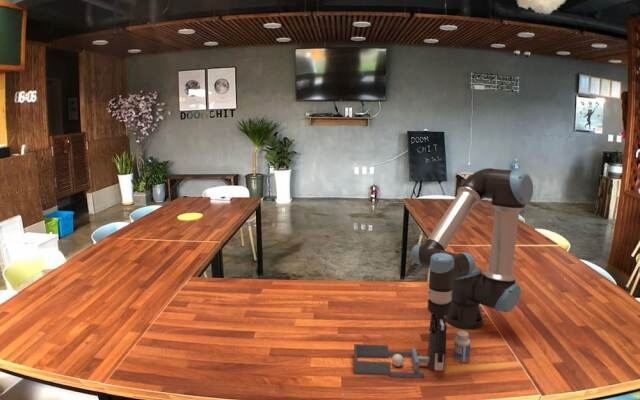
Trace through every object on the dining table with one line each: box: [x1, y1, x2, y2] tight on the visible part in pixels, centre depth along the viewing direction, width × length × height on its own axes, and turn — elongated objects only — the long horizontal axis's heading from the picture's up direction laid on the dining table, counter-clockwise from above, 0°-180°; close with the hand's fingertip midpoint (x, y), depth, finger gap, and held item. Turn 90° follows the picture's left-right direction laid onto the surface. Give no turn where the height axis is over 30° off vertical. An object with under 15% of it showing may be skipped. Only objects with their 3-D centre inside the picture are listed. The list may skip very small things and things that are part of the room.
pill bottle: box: [453, 330, 471, 363], centre depth 156 cm, size 6×5×10 cm
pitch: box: [353, 343, 425, 379], centre depth 153 cm, size 23×14×4 cm, turn 86°
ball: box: [391, 354, 404, 367], centre depth 153 cm, size 4×4×4 cm
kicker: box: [411, 333, 446, 373], centre depth 151 cm, size 10×9×11 cm
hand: (436, 361), depth 152 cm, fingers open, 9 cm apart
